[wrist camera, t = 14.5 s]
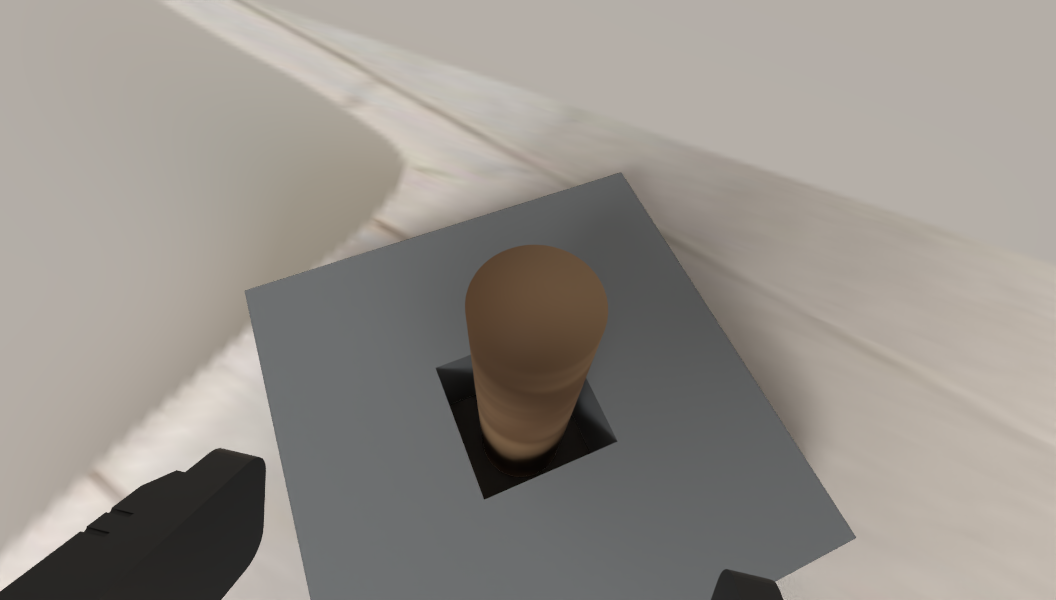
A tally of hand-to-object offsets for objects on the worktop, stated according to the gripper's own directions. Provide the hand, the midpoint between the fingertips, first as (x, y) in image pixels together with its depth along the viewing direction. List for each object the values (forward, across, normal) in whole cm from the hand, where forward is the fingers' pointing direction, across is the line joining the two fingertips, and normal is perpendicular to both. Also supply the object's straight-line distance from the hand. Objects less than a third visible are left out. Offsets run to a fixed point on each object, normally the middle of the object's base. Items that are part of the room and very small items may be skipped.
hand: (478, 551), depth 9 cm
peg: (+12, 0, +5) cm, 13 cm away
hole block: (+12, 0, +5) cm, 13 cm away
